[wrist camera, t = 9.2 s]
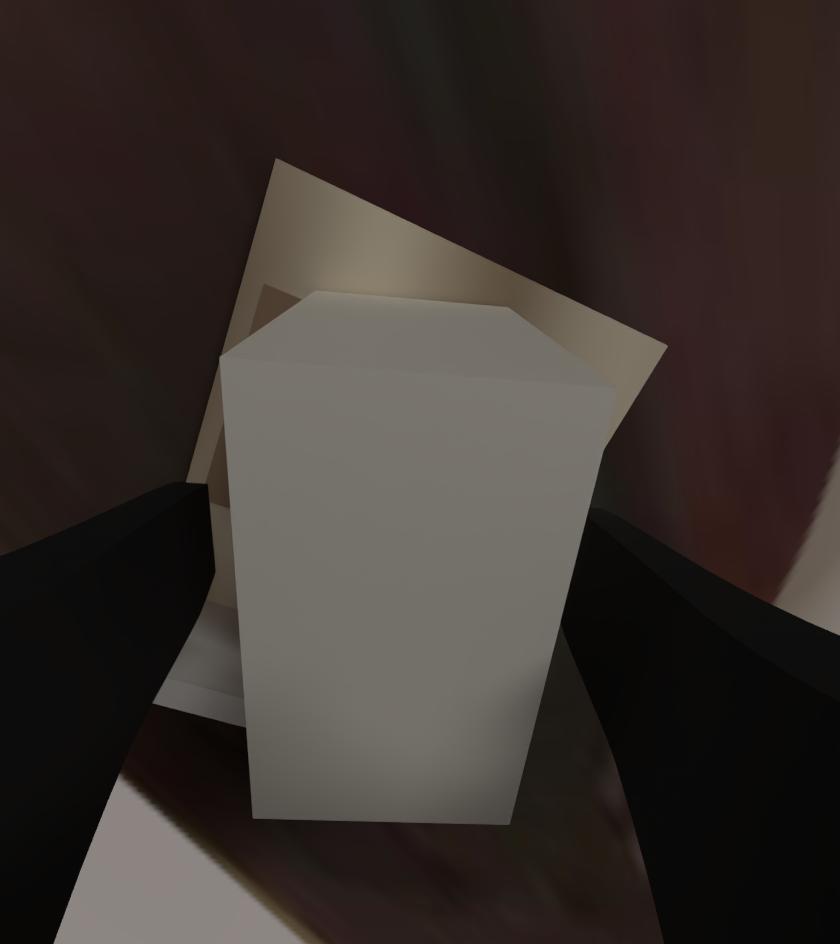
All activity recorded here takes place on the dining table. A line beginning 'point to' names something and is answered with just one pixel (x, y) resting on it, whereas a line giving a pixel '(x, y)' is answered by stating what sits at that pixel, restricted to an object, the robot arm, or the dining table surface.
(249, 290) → the cream tray
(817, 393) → the dining table surface
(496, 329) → the carton
